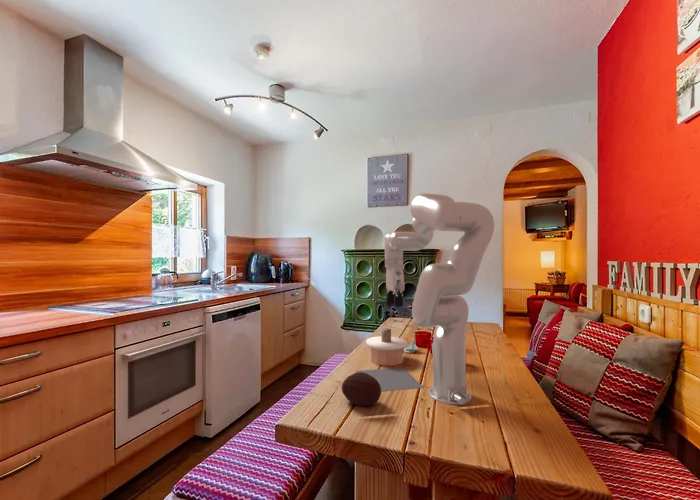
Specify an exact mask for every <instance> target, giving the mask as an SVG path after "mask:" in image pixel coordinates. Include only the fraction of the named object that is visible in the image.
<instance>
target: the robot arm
mask: <svg viewBox="0 0 700 500" xmlns="http://www.w3.org/2000/svg"><path fill="white" fill-rule="evenodd" d="M409 210H410V215H411V216H412V219H411V225H412V228H413V230H414V231H394V232H392V233H388V234H385V235H384V267H385V268H386V271H385V286H386V303H387V304H388V305H389V304H394V306H395V307H396V308H397V307H398V308H399V307H403V305H404V301H403V300H404V298H403V297H404V291H405V274H404V252H405V251H410V252H411V251H412V252H417V251H421V250H423V249H425V248H426V247H427V246H428V245H429V244H430V243H431V242H432V241H433V238H434V232H435V231H439V232H440V231H442V232H459V233H460V232H461V233H462V232H463V233H464V234H463V235H462V236H461V237H460V238H459V239H458V240H457V241H456V242H455V244H454V245H453V247H452V248H451V253H450V256H449V258H448V261H446V262H442V263H441V262H436V263H430V264H428V265H426V267H424V268H423V270H422V271H421V273H420V276H419V279H418V282H417V283H418V284H417V287H416V290H415V294H414V299H413V301H412V307H411V315H412V319H413V322H414V323H415V324H416V325H418V326H419V327H423V328H434V327H436V329H435V331H434V334H433V339H432V340H433V342H432V343H433V353H432V358H433V359H432V361H433V363H432V365H433V366H432V367H433V368H432V369H433V371H432V372H433V386H430V387H429V389H428V396H429V397H430V398H431V399H432V400H434V401H437V402H439V403H441V404H446V405H455V406H456V405H461V406H462V405H465V404H468V403H470V402H471V400H472V393H470V392H469V391H468V390H467V387H466V384H467V383H466V378H467V377H466V374H467V373H466V335H467V334H466V331H467V323H468V320H469V311H470V310H469V305H468V302H467V301H466V299H465V298H464V297H463V295H465V294H468V293H469V292H470V291H472V289H473V286H474V283H475V281H476V278H477V275H478V272H479V269H480V266H481V263H482V260H483V259H484V255H485V253H486V250H487V249H488V246H489V245H490V243H491V240H492V239H493V236H494V231H495V220H494V216H493V213H492V212H491V211H490V210H489V208H488V207H486V206H485V205H481V204H480V203H475V202H463V201H455V200H454V199H453V198H452V197H451V196H448V195H444V194H436V193H425V192H424V193H420V194H418V195H416V196H415V197H414V198H413V199H412V201H411V204H410V207H409Z"/></svg>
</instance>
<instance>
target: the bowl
mask: <svg viewBox="0 0 700 500" xmlns="http://www.w3.org/2000/svg"><path fill="white" fill-rule="evenodd" d="M368 349H369V350H368V356H369V358H368V359H369V360H370V362H372V363H373V364H375V365H380V366H396V365H400V364H402V363H403V362H404V360H405V351H404V349H405V348H402V349H398V350H379V349H374V348H371V347H368Z"/></svg>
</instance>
